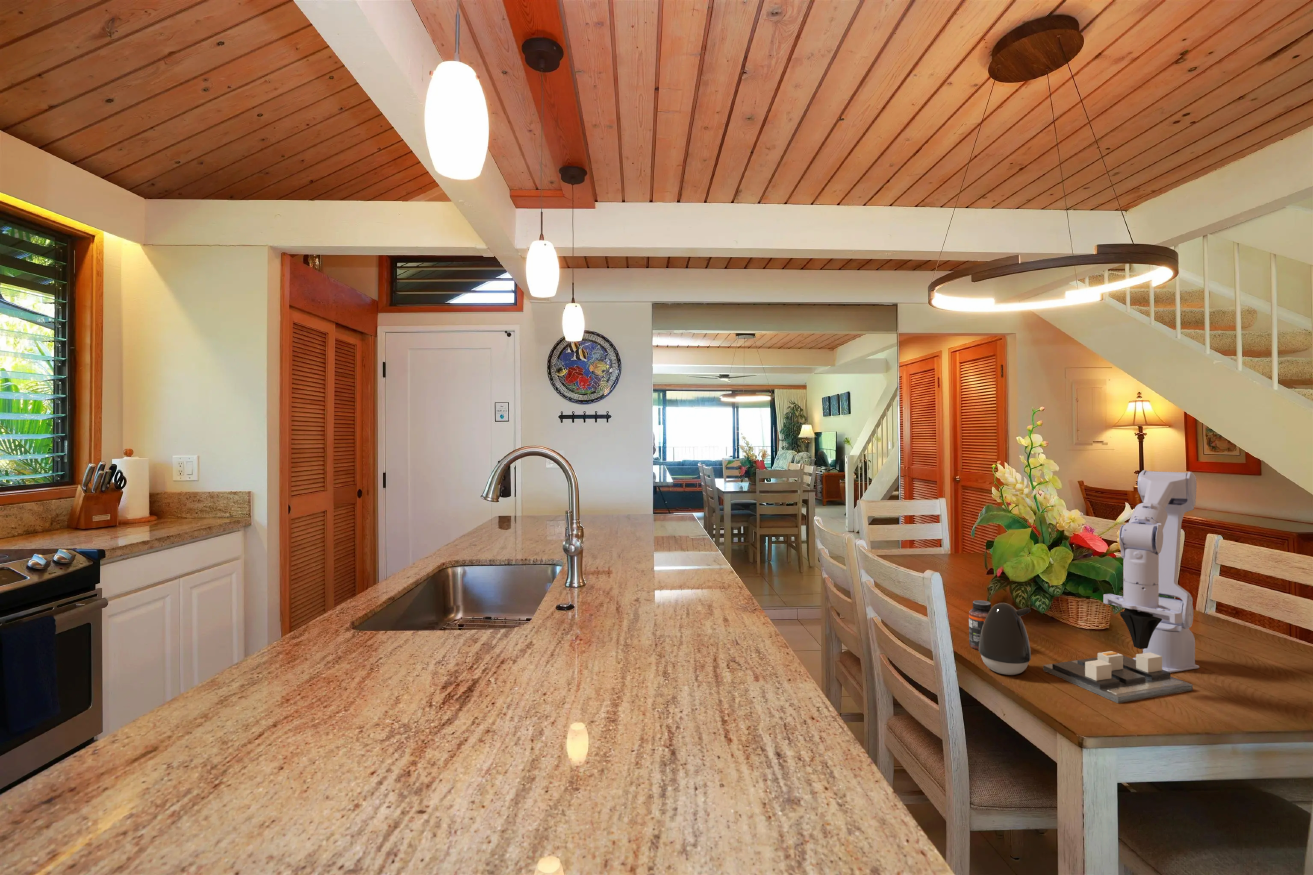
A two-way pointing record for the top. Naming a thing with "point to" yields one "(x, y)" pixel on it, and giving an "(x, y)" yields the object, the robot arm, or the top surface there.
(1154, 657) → the block
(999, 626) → the pump dispenser
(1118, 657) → the breaker middle
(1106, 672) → the block
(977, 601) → the supplement bottle
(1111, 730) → the top surface
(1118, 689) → the breaker panel
